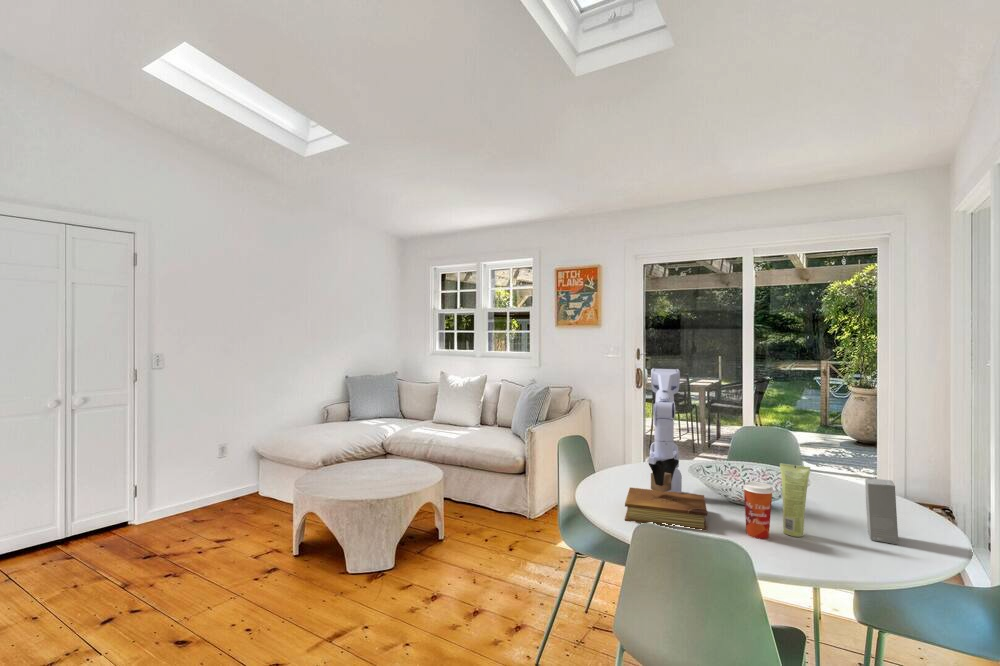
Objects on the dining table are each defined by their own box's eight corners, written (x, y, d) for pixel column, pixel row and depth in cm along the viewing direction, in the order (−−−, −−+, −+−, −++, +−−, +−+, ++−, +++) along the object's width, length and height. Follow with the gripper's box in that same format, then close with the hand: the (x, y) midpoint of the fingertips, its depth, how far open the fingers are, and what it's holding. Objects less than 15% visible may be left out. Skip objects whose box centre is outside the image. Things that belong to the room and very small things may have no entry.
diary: (703, 512, 165) (703, 494, 165) (706, 533, 147) (707, 512, 147) (629, 503, 172) (630, 486, 172) (624, 522, 155) (624, 502, 155)
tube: (795, 530, 149) (796, 462, 149) (809, 536, 144) (810, 466, 144) (778, 531, 148) (779, 463, 148) (792, 538, 143) (793, 467, 143)
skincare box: (898, 545, 138) (899, 486, 139) (866, 540, 142) (866, 482, 142) (895, 535, 146) (895, 479, 146) (864, 530, 149) (864, 475, 149)
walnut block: (658, 486, 166) (658, 470, 166) (671, 489, 162) (671, 473, 163) (650, 489, 163) (650, 473, 163) (663, 492, 159) (663, 476, 160)
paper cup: (741, 536, 143) (742, 486, 143) (743, 528, 150) (743, 479, 150) (773, 542, 139) (774, 490, 140) (773, 533, 146) (774, 483, 146)
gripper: (664, 435, 170) (664, 476, 170) (639, 440, 160) (639, 484, 160) (684, 438, 165) (684, 481, 165) (660, 444, 155) (659, 489, 155)
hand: (663, 483), depth 162 cm, fingers closed on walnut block, 4 cm apart
